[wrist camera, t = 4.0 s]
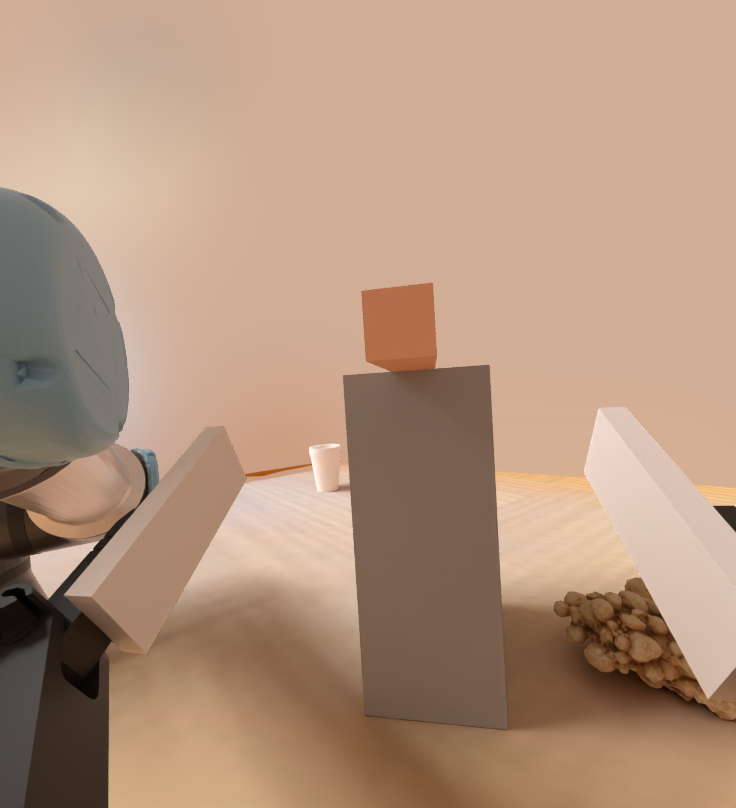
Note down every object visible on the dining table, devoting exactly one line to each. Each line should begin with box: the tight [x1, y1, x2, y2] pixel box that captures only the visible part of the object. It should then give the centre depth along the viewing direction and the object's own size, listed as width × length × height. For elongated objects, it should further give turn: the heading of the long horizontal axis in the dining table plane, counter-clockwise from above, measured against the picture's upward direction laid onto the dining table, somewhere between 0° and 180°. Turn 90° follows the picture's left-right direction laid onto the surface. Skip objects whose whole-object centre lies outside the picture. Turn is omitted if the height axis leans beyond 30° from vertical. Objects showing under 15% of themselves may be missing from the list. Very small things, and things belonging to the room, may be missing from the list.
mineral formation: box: [554, 578, 736, 720], centre depth 35 cm, size 8×13×15 cm
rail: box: [362, 283, 437, 372], centre depth 31 cm, size 28×4×4 cm, turn 170°
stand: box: [343, 365, 508, 730], centre depth 39 cm, size 18×12×30 cm, turn 170°
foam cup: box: [309, 444, 341, 492], centre depth 107 cm, size 10×9×13 cm
